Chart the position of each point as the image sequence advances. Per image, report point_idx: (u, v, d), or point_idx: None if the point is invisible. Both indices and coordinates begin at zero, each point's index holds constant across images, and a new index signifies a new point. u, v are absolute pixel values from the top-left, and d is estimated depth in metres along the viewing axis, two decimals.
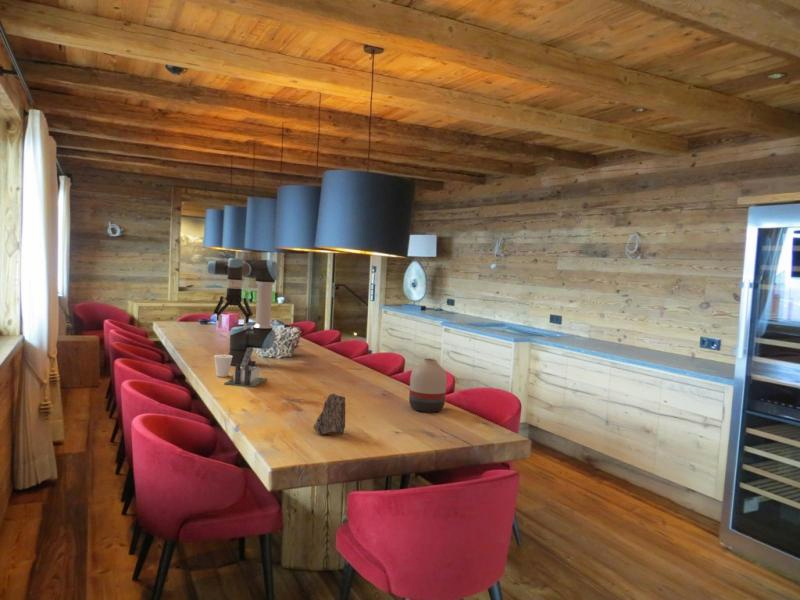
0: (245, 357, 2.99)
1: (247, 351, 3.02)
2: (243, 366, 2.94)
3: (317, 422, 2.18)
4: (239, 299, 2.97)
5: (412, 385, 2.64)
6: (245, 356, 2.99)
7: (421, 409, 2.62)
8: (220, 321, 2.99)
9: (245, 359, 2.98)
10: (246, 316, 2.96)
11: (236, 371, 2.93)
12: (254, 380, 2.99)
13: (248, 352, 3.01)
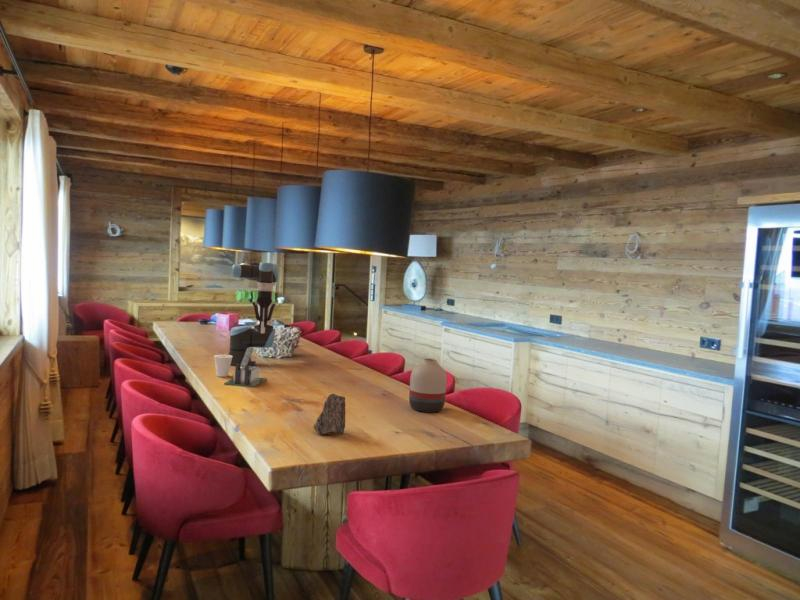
0: (245, 357, 2.99)
1: (247, 351, 3.02)
2: (243, 366, 2.94)
3: (317, 422, 2.18)
4: (269, 301, 3.14)
5: (412, 385, 2.64)
6: (245, 356, 2.99)
7: (421, 409, 2.62)
8: None
9: (245, 359, 2.98)
10: (264, 321, 3.14)
11: (236, 371, 2.93)
12: (254, 380, 2.99)
13: (248, 352, 3.01)
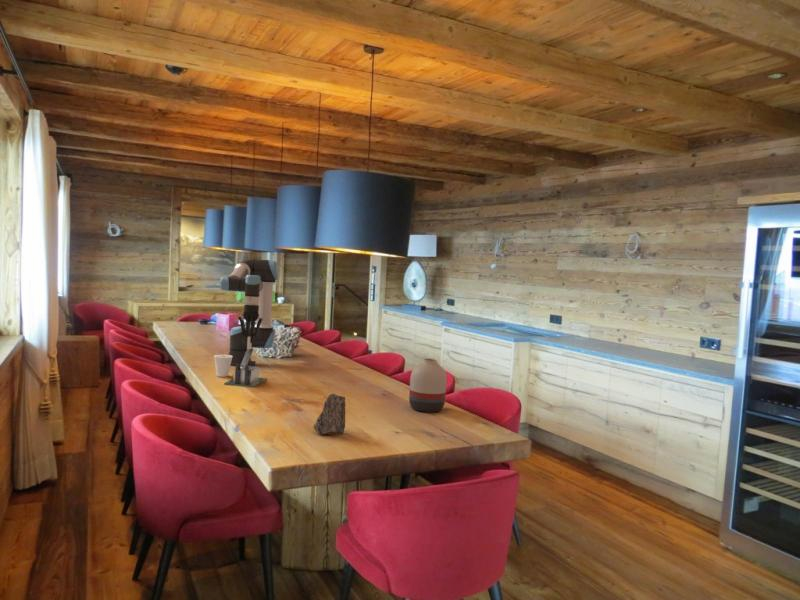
0: (245, 357, 2.99)
1: (247, 351, 3.02)
2: (243, 366, 2.94)
3: (317, 422, 2.18)
4: (256, 316, 3.00)
5: (412, 385, 2.64)
6: (245, 356, 2.99)
7: (421, 409, 2.62)
8: None
9: (245, 359, 2.98)
10: (251, 336, 2.99)
11: (236, 371, 2.93)
12: (254, 380, 2.99)
13: (248, 352, 3.01)
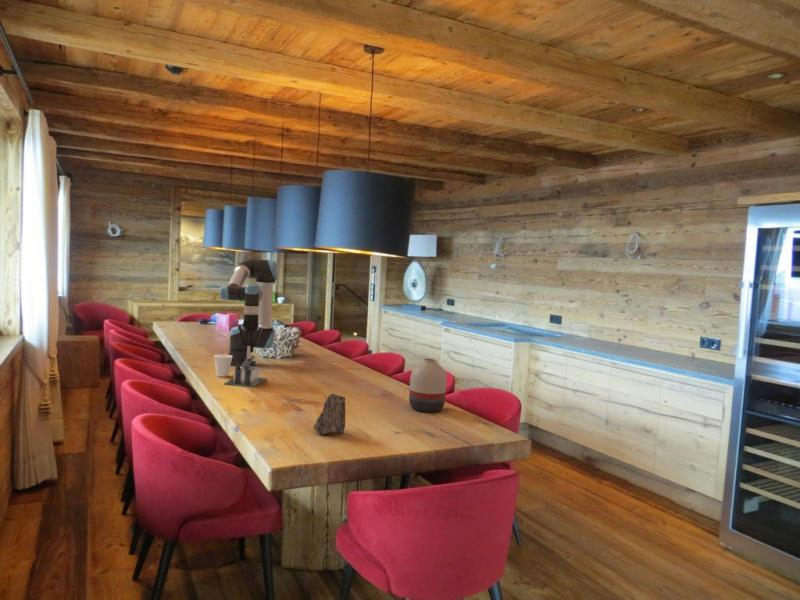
0: (246, 361, 3.00)
1: None
2: (243, 366, 2.95)
3: (317, 422, 2.18)
4: (256, 325, 3.00)
5: (412, 385, 2.64)
6: (246, 360, 3.01)
7: (421, 409, 2.62)
8: None
9: (246, 362, 2.99)
10: (250, 346, 3.00)
11: (236, 371, 2.93)
12: (254, 380, 2.99)
13: None
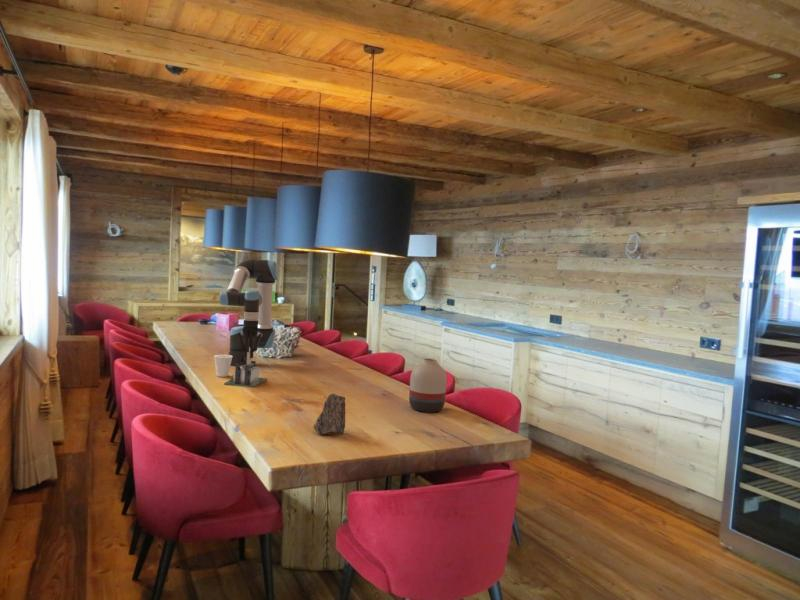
0: (246, 364, 3.01)
1: None
2: (243, 367, 2.95)
3: (317, 422, 2.18)
4: (255, 331, 3.00)
5: (412, 385, 2.64)
6: (246, 364, 3.02)
7: (421, 409, 2.62)
8: None
9: None
10: (250, 351, 3.00)
11: (236, 371, 2.93)
12: (254, 380, 2.99)
13: None
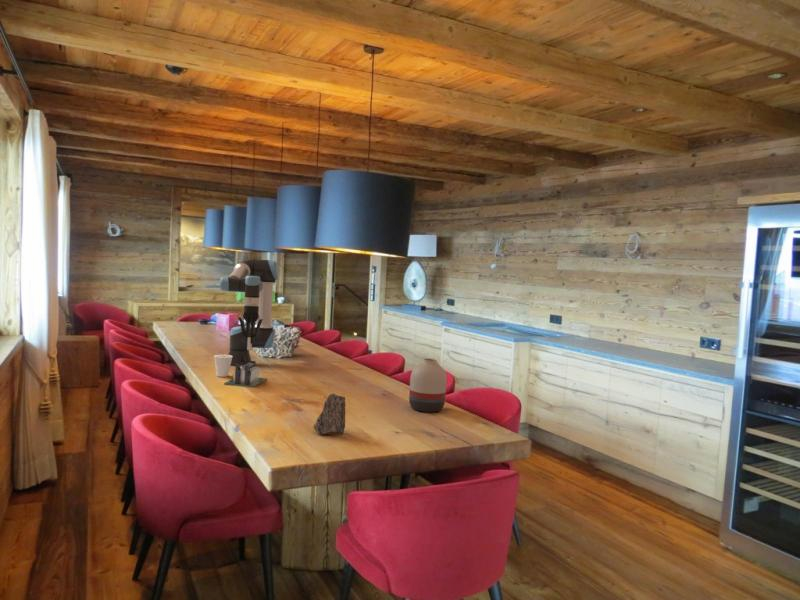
0: (246, 364, 3.01)
1: (248, 363, 3.05)
2: (243, 367, 2.95)
3: (317, 422, 2.18)
4: (256, 317, 3.00)
5: (412, 385, 2.64)
6: (246, 364, 3.02)
7: (421, 409, 2.62)
8: None
9: None
10: (251, 337, 3.00)
11: (236, 371, 2.93)
12: (254, 380, 2.99)
13: (249, 363, 3.04)
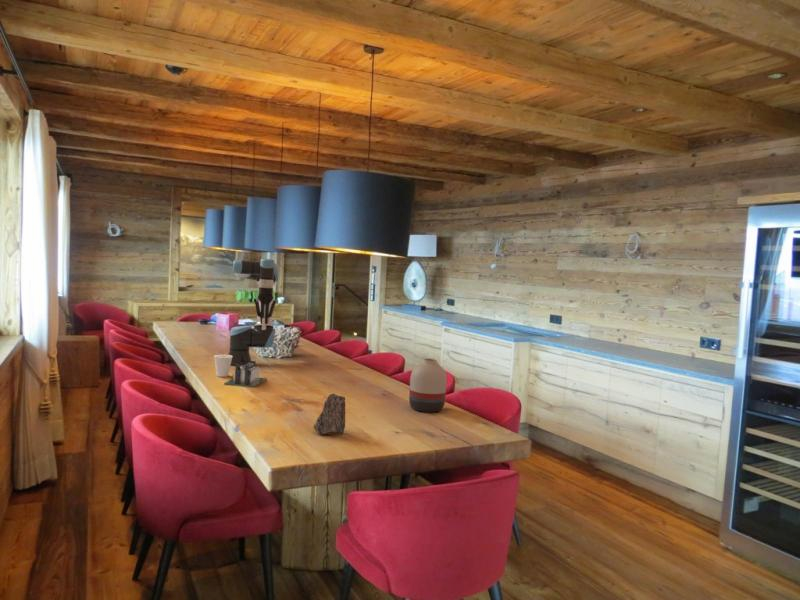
0: (246, 364, 3.01)
1: (248, 363, 3.05)
2: (243, 367, 2.95)
3: (317, 422, 2.18)
4: (270, 298, 3.14)
5: (412, 385, 2.64)
6: (246, 364, 3.02)
7: (421, 409, 2.62)
8: None
9: None
10: (265, 317, 3.14)
11: (236, 371, 2.93)
12: (254, 380, 2.99)
13: (249, 363, 3.04)
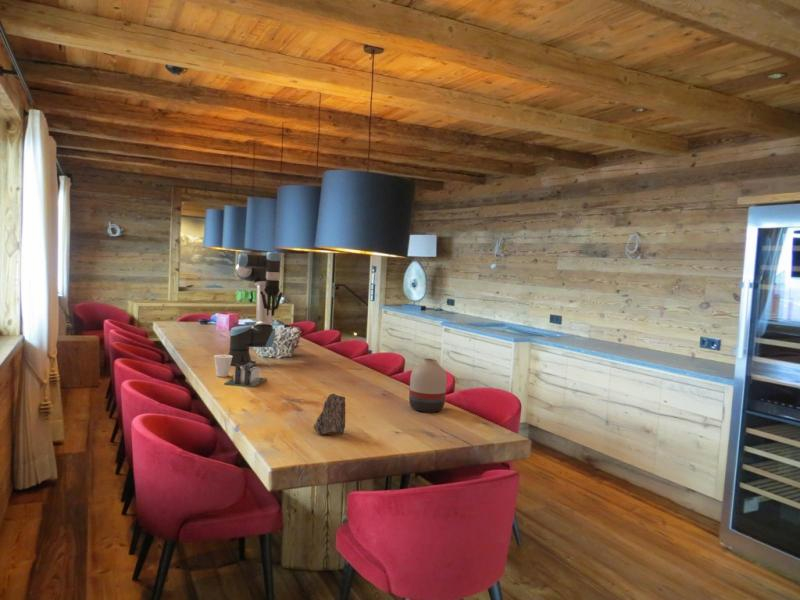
0: (246, 364, 3.01)
1: (248, 363, 3.05)
2: (243, 367, 2.95)
3: (317, 422, 2.18)
4: (277, 290, 3.20)
5: (412, 385, 2.64)
6: (246, 364, 3.02)
7: (421, 409, 2.62)
8: None
9: None
10: (272, 309, 3.20)
11: (236, 371, 2.93)
12: (254, 380, 2.99)
13: (249, 363, 3.04)
